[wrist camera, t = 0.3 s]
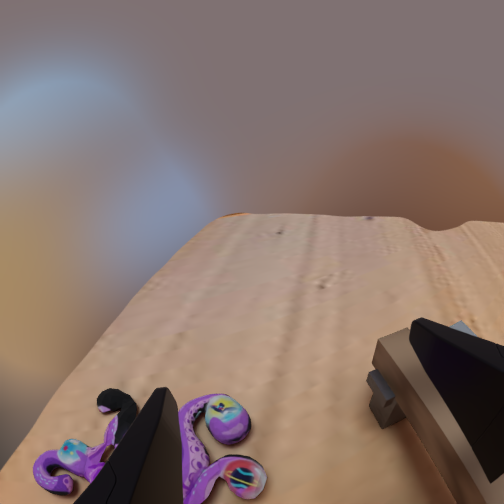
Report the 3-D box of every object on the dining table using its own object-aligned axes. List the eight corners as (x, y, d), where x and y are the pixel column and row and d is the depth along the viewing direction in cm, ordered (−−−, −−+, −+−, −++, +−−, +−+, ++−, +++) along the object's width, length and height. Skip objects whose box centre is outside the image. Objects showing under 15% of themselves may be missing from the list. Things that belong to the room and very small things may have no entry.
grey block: (419, 410, 20) (441, 371, 17) (369, 434, 19) (386, 400, 17) (404, 389, 23) (422, 348, 20) (356, 410, 22) (368, 372, 19)
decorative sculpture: (268, 546, 11) (271, 402, 25) (260, 543, 10) (265, 379, 23) (41, 489, 14) (86, 395, 27) (17, 471, 12) (70, 374, 26)
